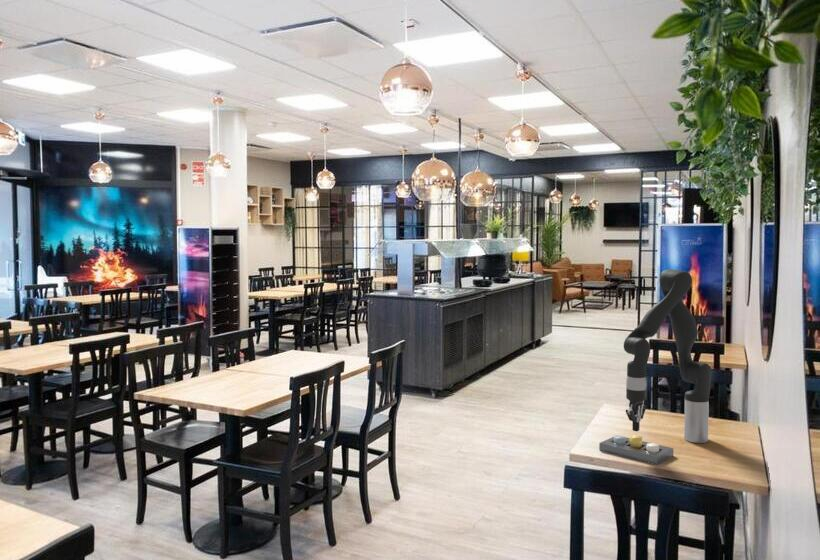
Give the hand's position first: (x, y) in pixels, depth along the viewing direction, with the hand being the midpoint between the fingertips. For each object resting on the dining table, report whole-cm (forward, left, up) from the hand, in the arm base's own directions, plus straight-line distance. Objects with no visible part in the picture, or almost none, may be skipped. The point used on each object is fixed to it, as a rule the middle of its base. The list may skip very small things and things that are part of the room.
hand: (636, 430), depth 252 cm
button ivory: (0, +7, -9) cm, 11 cm away
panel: (0, 0, -9) cm, 9 cm away
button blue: (0, -7, -9) cm, 11 cm away
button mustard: (0, 0, -7) cm, 7 cm away
